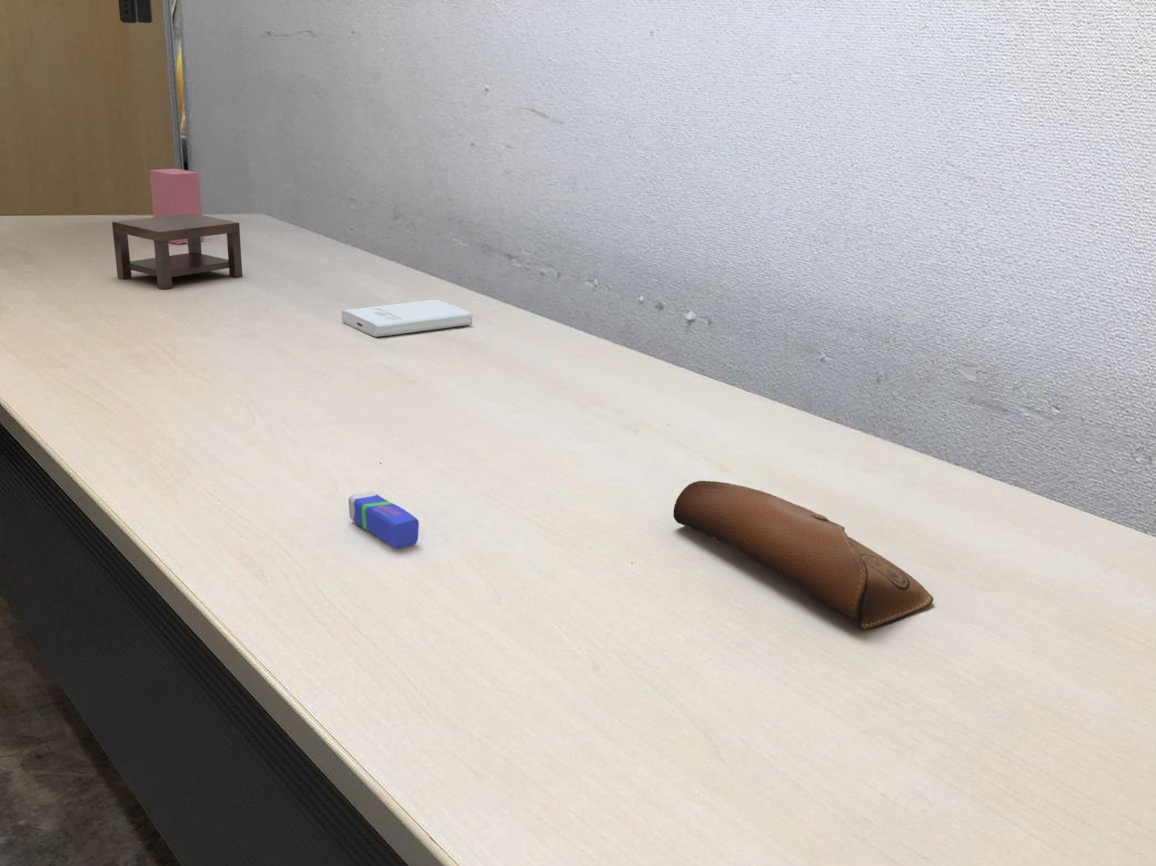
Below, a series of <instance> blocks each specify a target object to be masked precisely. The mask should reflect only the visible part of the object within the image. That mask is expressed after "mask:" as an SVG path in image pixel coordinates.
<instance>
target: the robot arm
mask: <svg viewBox="0 0 1156 866" xmlns="http://www.w3.org/2000/svg"><path fill="white" fill-rule="evenodd" d="M117 1H118V10H119V11H118V12H119V20H120V22H122V23H125V24H137V23H140V24H141V23H142V24H152V23H153V8H152V0H117Z"/></svg>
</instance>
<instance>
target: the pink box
mask: <svg viewBox="0 0 1156 866" xmlns="http://www.w3.org/2000/svg"><path fill="white" fill-rule="evenodd" d="M149 179H150V190H151V191H150V192H151V199H152V200H151V201H152V213H153V217H162V216H172V215H181V214H191V213H194V214H199V215H203V214H202V202H201V201H202V200H201V187H200V173H199V172H197V171H193V170H192V171H191V170H187V169H181V168H162V169H150V170H149ZM200 239H201V241H203V242H204V236H203V237H200ZM170 242H171V243H170ZM168 243H170V244H174V243H176V244H175V245H178V244H180V245H183V244H182V243H187V244H188V239H180V240H172V241H168Z"/></svg>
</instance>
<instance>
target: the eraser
mask: <svg viewBox="0 0 1156 866" xmlns="http://www.w3.org/2000/svg"><path fill="white" fill-rule="evenodd" d="M348 511H349V518H350V520H351V521H353V522H354V523H355V524H356V525H358V526H359V527H361V528H362V529H364V530H366V531H367V532H369V533H370V534H372V535H374V536H376V537H378V538H379V539H381V540H382V541H384V542H385V543H387V544H388V545H390V546H391V547H392V548H394V549H396V550H398V549H402V548H406V547H409V546H413V545H416V544H417V543H418V540H419V529H420V527H419V524H420V521H419V520H418V518H417V517H416V516H415V515H413V514H411V513H410V512H409V511H407V510H406V509H405V508H403V507H400V506H399V505H397V504H395V503H393V502H391V501H389V500H387V499H386V498H384V497H382V496H380V495H379V494H377V493H376V492H374V491H371V490H369V491H365V492H361V493H357V494H352V495H350V496H349V497H348Z"/></svg>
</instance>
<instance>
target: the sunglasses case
mask: <svg viewBox="0 0 1156 866" xmlns="http://www.w3.org/2000/svg"><path fill="white" fill-rule="evenodd" d="M672 514H673V519H674V521H675V522H676V523H677V524H679V525H682V526H685V527H688V528H690V529H691V530H693V531H696V532H698V533H701V534H703V535H705V536H706V537H708V538H714V539H715V540H716V541H717V542H718V543H722V544H723V545H727V546H729V547H731V548H735V549H736V550H737V551H738V552H739V553H741V554H743V555H744V556H746V557H748V558H749V559H751V560H752V561H754V562H756V563H758V564H759V565H761V566H763V567H764V568H767V569H769V570H771V571H773V572H775V573H777V574H779V576H782V577H783V578H784V579H786V580H787V581H789V582H790V583H792V584H794V585H796V586H798V587H800V588H801V589H803V590H805V591H806V592H808V593H810V594H811V595H813V596H815V597H817V598H819V599H820V600H822V601H823V602H825V603H827V604H828V605H831V606H832V607H834V608H835V609H836V610H838V611H840V612H841V613H842V614H844V615H845V616H847V617H850V618H852V619H855V621H856V622H857V624H858V625H859V626H860V627H861V628H862V629H863V630H865V631H868V630H872V629H875V628H879V627H882V626H887V625H889V624H892V623H895V622H898V621H900V620H902V619H905V618H907V617H908V616H912V615H913V614H915V613H917V612H919V611H922V610H923V609H925V608H927V607H929V606H931V604H933V602H934V597H933V595H932V594H931V593H930V592H929V591H928V590H927V589H926V588H925V587H924V586H923V585H922V584H921V583H920V582H919V581H918V580H917V579H915V578H914V577H913V576H911V575H910V574H909V573H908V572H906V571H905V570H903V569H902V568H900V567H899V566H898V565H896V564H894V563H893V562H891V561H890V560H888V559H887V558H885V557H884V556H882V555H880V554H879V553H877V552H875V551H874V550H873V549H871V548H869V547H867V546H865V544H863V543H861V542H860V541H857V540H856V539H854V538H852V537H850V536H848V534H847V532H846V531H845V529H846V527H845V526H843V525H841V524H838V523H837V522H834V521H831V520H830V519H828V518H827V516H825V515H823V514H820V513H817V512H815V511H812V510H811V509H808V508H806V507H803V506H801V505H798V504H795V503H793V502H792V501H791V502H790V501H788V500H786V499H784V498H781V497H779V496H776V495H774V494H771V493H769V492H764V491H762V490H760V489H755V488H751V487H748V486H745V485H738V484H734V483H730V482H723V481H715V480H713V481H712V480H698V481H693V482H691V483H689V484H688V485H687V486H685V487H684V488H683V490H682V491H681V492H680V494H679V495H678V496H677V497H676V500H675V503H674V506H673V513H672Z"/></svg>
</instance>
